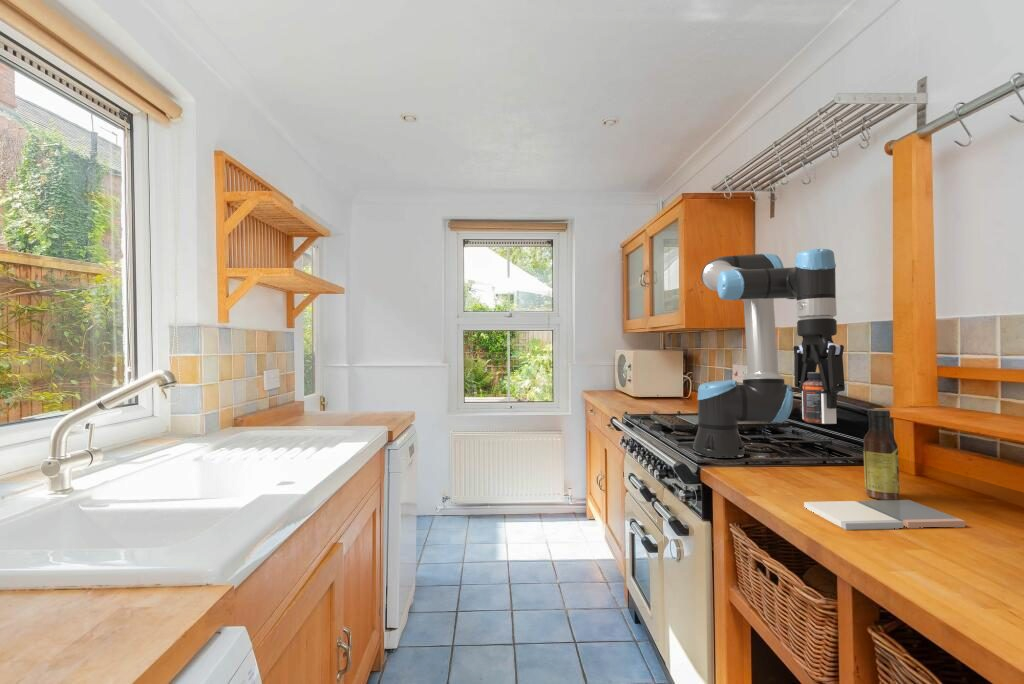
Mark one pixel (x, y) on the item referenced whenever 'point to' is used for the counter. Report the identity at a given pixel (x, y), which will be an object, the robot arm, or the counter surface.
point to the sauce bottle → (881, 458)
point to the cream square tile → (853, 515)
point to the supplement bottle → (812, 398)
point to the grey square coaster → (914, 514)
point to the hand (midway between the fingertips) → (818, 421)
